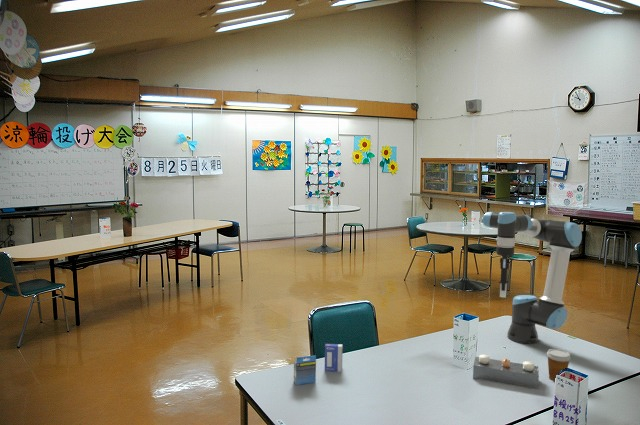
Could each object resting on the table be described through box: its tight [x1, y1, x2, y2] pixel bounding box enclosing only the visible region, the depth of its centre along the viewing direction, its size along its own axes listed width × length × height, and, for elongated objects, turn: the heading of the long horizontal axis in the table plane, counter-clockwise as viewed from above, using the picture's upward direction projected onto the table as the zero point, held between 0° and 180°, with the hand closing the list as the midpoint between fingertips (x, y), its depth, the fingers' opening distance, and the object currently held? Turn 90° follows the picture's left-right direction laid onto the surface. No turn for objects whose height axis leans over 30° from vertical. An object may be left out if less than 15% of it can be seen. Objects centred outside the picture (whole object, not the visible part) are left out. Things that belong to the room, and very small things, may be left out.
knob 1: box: [478, 354, 491, 364], centre depth 218 cm, size 4×4×8 cm
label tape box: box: [293, 354, 317, 386], centre depth 210 cm, size 9×4×12 cm, turn 109°
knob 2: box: [522, 360, 535, 371], centre depth 211 cm, size 4×4×8 cm
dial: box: [501, 358, 511, 367], centre depth 214 cm, size 3×3×3 cm
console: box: [472, 356, 540, 391], centre depth 215 cm, size 10×26×6 cm, turn 68°
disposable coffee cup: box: [546, 348, 572, 382], centre depth 215 cm, size 10×10×12 cm
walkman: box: [324, 343, 344, 373], centre depth 222 cm, size 8×3×12 cm, turn 85°
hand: (502, 296), depth 226 cm, fingers closed
